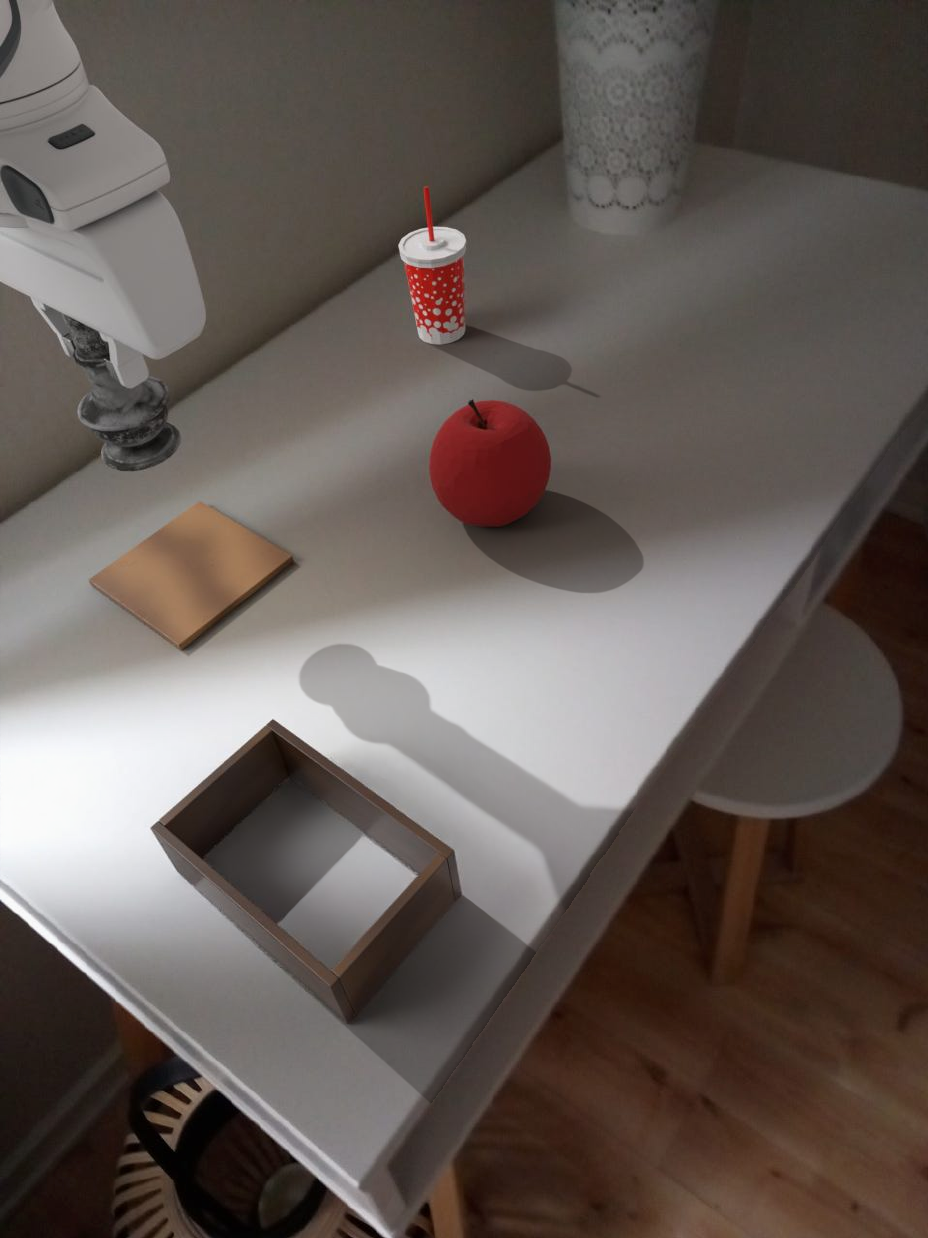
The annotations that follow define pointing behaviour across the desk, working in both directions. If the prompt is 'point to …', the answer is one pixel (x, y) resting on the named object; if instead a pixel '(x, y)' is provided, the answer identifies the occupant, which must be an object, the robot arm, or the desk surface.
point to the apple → (489, 463)
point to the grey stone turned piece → (122, 408)
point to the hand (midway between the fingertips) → (109, 368)
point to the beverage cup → (436, 279)
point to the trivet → (190, 573)
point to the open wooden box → (283, 755)
